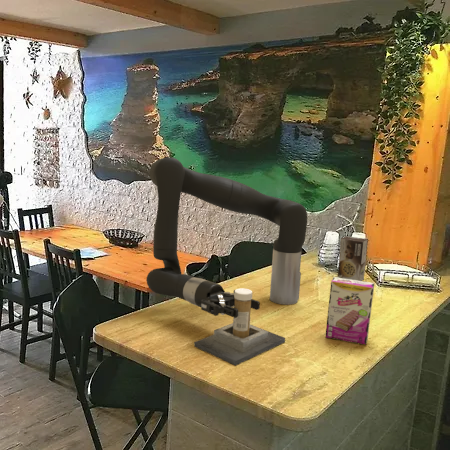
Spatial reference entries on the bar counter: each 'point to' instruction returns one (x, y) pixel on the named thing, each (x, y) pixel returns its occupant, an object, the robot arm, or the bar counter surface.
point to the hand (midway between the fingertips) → (248, 309)
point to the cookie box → (352, 258)
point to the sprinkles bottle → (242, 312)
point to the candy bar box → (349, 310)
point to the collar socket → (238, 344)
